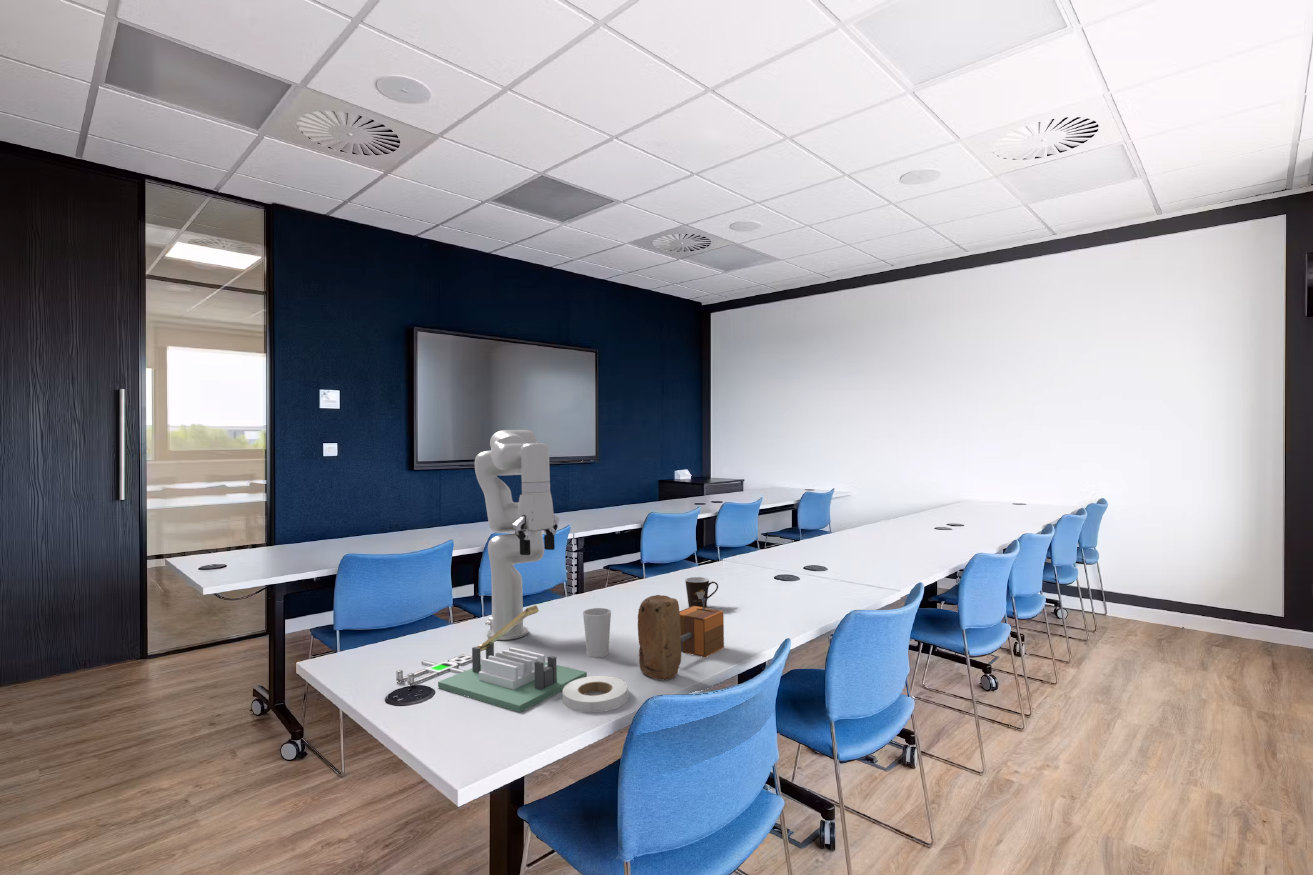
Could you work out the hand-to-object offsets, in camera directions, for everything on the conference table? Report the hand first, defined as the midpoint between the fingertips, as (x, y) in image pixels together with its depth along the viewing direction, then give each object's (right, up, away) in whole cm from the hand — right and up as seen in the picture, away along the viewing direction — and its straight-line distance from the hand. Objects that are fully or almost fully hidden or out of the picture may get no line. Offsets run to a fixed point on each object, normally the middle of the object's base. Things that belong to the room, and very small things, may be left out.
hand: (537, 552), depth 172 cm
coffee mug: (+48, -31, +58) cm, 81 cm away
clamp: (+42, -31, +8) cm, 53 cm away
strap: (-6, -19, -10) cm, 22 cm away
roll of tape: (+18, -31, -21) cm, 42 cm away
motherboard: (-4, -31, -11) cm, 33 cm away
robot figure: (-26, -32, -1) cm, 42 cm away
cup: (+15, -31, +10) cm, 36 cm away
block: (+33, -31, -7) cm, 46 cm away
